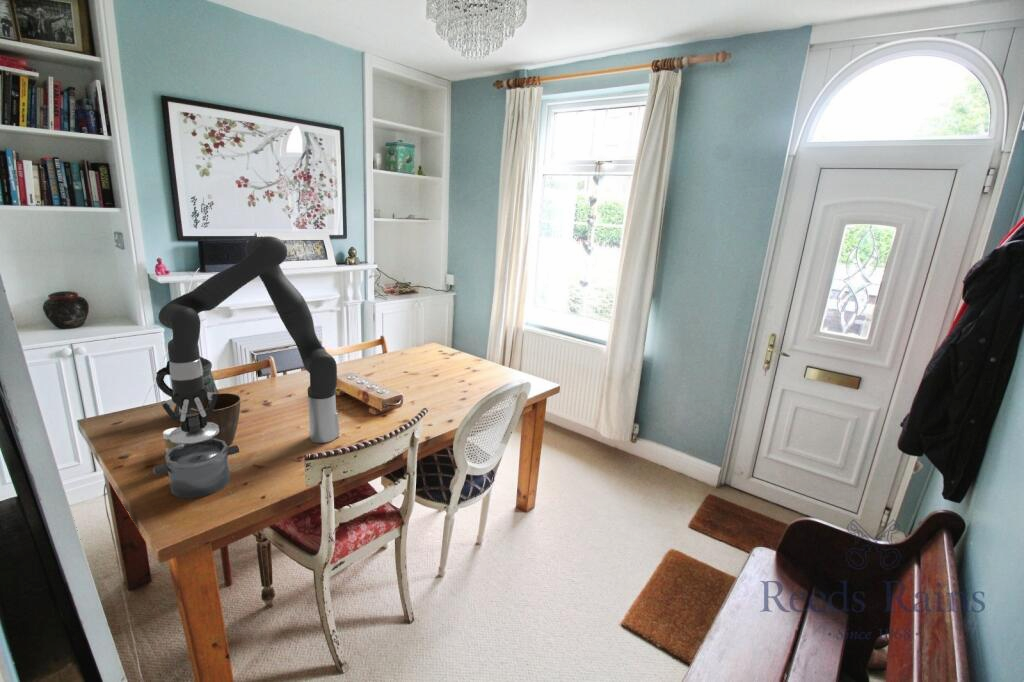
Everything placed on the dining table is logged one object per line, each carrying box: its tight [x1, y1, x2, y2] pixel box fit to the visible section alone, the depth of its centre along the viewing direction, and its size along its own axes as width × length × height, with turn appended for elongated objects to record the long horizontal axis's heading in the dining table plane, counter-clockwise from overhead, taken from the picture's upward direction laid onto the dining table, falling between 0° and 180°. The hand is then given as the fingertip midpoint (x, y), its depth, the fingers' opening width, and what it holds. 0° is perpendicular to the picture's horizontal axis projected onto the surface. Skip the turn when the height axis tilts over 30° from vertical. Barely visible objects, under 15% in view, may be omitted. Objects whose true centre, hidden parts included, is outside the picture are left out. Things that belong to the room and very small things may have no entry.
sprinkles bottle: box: [162, 427, 180, 455], centre depth 147 cm, size 5×5×14 cm
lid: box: [170, 413, 219, 444], centre depth 137 cm, size 12×12×6 cm
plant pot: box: [190, 392, 241, 447], centre depth 163 cm, size 15×15×16 cm
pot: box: [152, 438, 240, 499], centre depth 141 cm, size 21×15×11 cm
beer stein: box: [155, 356, 220, 423], centre depth 179 cm, size 16×19×25 cm
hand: (194, 429), depth 137 cm, fingers closed on lid, 3 cm apart
